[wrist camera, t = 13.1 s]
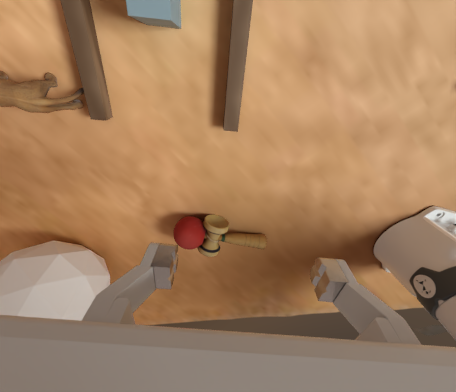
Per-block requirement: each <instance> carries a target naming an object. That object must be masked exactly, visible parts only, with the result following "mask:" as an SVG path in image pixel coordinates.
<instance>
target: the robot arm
mask: <svg viewBox="0 0 456 392" xmlns="http://www.w3.org/2000/svg"><path fill="white" fill-rule="evenodd" d="M177 252H178V245H171V244H162V243H152V242H151V243H150V244H149V246H148V248H147V250H146V253H145V255H144V257H143V259H142V261H141V264H140V266H135V267H134V268H133V269H131V270H130V271H129V272H127V273H126V274H125V275H123V276H122V277H120V278H119V279H118V280H116V281H115V282H114V283H112V284H111V285H109V286H108V287H107V288H105V289H104V290H103V291H101V292H100V293H98V294H97V295H96V297H95V298H94V300H93V302H92V304H91V305H90V307H89V309H88V310H87V312H86V314H85V315H84V317H83V319H82V321H79V320H65V319H52V318H38V317H24V316H11V315H0V392H456V347H444V346H430V345H421V344H420V342H419V340H418V339H417V337H416V336H415V334H414V333H413V331H412V330H411V328H410V327H409V325H408V324H407V322H406V321H405V319H404V318H402V317H401V316H400V315H399V314H397V313H396V312H395V311H394V310H392V309H391V308H390V307H389V306H387V305H386V304H385V303H384V302H382V301H381V300H380V299H379V298H377V297H376V296H375V295H374V294H372V293H371V292H370V291H369V290H367V289H366V288H365V287H364V286H362V285H361V284H358V283H357V281H356V279H355V277H354V276H353V274H352V272H351V270H350V269H349V267H348V265H347V263H346V262H345V261H344V260H343V259H332V258H319V257H318V258H316V259H315V261H314V262H315V265H314V266H312V267H311V270H310V279H311V282H312V283H313V284H314V285H315V286H316V287H315V293H316V296H317V298H318V301H325V302H333V304H334V305H335V306H336V307H337V308H338V310H339V311H340V312H341V313H342V314H343V315H344V316H345V317H346V319H347V320H348V321H349V322H350V323H351V324H352V325H353V327H354V328H355V329H356V330H357V331H358V332H359V333H360V335H359V336H358V337H357V338H356V339H355V340H346V339H330V338H318V337H303V336H290V335H276V334H261V333H247V332H233V331H218V330H205V329H204V330H203V329H190V328H176V327H163V326H162V327H161V326H149V325H135V321H134V317H133V312H134V311H135V310H136V309H137V308H138V307H139V306H140V305H141V304H142V303H143V302H144V301H145V300H146V299H147V298H148V297H149V296H150V295H151V294H152V293H153V292H154V291H155V289H156V288H159V289H171V288H172V285H173V281H174V273H175V272H176V270H177V265H178V254H177ZM374 255H375V257H376V258H377V259H378V260H379V261H380V262H381V263H382V267H383V269H384V270H385V271H386V272H391V273H392V274H393V275H394V276H395V277H396V279H397V280H398V281H399V282H400V283H401V284H402V285H403V286H404V287H405V288H406V289H407V290H408V291H409V292H410V293H411V294H412V295H414V296H416V297H417V299H418V300H419V302H420V303H421V304H422V305H423V306H424V308H425V310H426V311H427V312H429V313H430V314H431V315H432V317H433V318H435V319H436V320H439V321H440V322H441V323H442V325H443V326H444V327H445V328H446V329H447V331H448V332H449V333H450V334H451V335H452V337H453V338H454V339H455V340H456V212H455V211H452V210H448V209H444V208H441V207H437V206H432V207H429V208H427V209H426V210H424V211H422V212H421V213H419V214H418V215H416V216H414V217H411V218H408V219H406V220H403V221H401V222H399V223H397V224H395V225H393V226H392V227H390V228H389V229H388V230H386V231H385V232H384V233H383V234H382V235H381V236H380V237H379V238H378V240H377V241H376V243H375V246H374Z"/></svg>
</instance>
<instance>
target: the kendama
mask: <svg viewBox="0 0 456 392" xmlns="http://www.w3.org/2000/svg"><path fill="white" fill-rule="evenodd" d="M228 228H229V222H228V221H227V220H226V219H225V218H223V217H221V216H219V215H213V214H211V215H207V216H206V217H205V219H204V222H202V221H201V220H200V219H198V218H196V217H192V216H189V217H184V218H182V219H181V220H179V221H178V223H177V224H176V226H175V228H174V239H175V241H176V243H177V244H178V245H179V246H180V247H182V248H184V249H195V248H198V251H199V252H200V253H201V254H203V255H205V256H208V257H213V256H216V255H217V254H218V253H219V251H220V246H219V244H218V242H219V241H223V242H227V243H231V244H236V245H242V246H248V247H254V248H259V249H264V248H265V247H266V244H267V239H266V236H265V235H264V234H243V233H226V232H227V231H228Z"/></svg>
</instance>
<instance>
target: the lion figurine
mask: <svg viewBox="0 0 456 392" xmlns="http://www.w3.org/2000/svg"><path fill="white" fill-rule="evenodd" d="M45 79H46V80H33V81H29V82H22V83H20V84H18V83H16V82H13V81H11V80H8V76H7V75H6V74H5V73H4V72H3V71H0V106H1V107H11V106H16V107H18V108H20V109H22V110H25V111H28V112H39V113H50V112H53V111H59V110H75V109H77V108H82V107H83V103H82V102H81V101H80V100H74V99H76V98H77V97H79V96H80V95H81V94H84V90H83V88H80V89H79V90H78V91H77V92H76V93H74V94H73V95H71V96H67V97H64V98H59V99H49V98H47V97H46V95H47V93H48V90H49V88H51V87H57V86H58V84H57V79H56V77H55V76H54V75H53V74H51V73H47V74H45ZM72 100H73V102H72V103H66V102H70V101H72ZM62 103H66V104H62Z"/></svg>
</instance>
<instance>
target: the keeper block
mask: <svg viewBox="0 0 456 392" xmlns="http://www.w3.org/2000/svg"><path fill="white" fill-rule="evenodd" d="M126 4H127V12H128V16H130V17H132V18H134V19H136V20H138V21H140V22H142V23H144V24H146V25H153V26H162V27H170V28H179V29H181V3H180V0H126Z"/></svg>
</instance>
